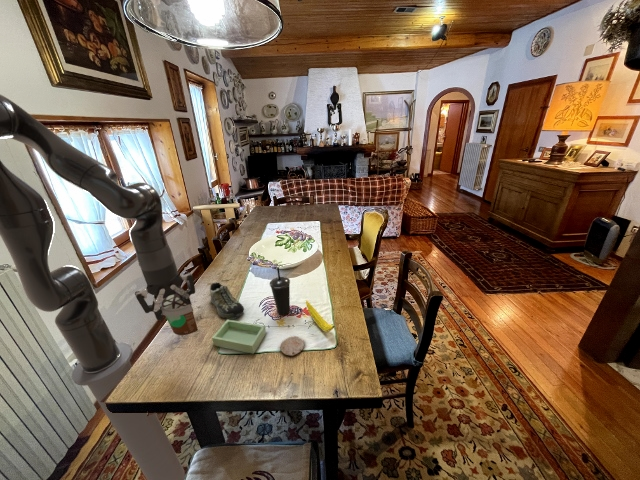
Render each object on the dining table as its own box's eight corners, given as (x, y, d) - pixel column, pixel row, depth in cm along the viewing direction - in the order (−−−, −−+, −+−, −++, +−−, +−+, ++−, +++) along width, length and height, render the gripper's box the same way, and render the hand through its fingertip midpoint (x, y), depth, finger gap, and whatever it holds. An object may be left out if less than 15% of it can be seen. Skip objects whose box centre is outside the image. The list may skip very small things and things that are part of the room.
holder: (214, 345, 86) (211, 337, 84) (229, 326, 94) (227, 319, 92) (253, 353, 82) (252, 345, 81) (266, 333, 90) (265, 325, 89)
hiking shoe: (229, 325, 94) (224, 305, 90) (204, 302, 108) (199, 283, 104) (249, 314, 100) (245, 294, 96) (222, 293, 113) (218, 275, 110)
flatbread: (286, 360, 79) (286, 358, 79) (276, 344, 85) (276, 342, 85) (309, 348, 83) (308, 346, 82) (298, 334, 89) (298, 332, 88)
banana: (310, 308, 101) (309, 295, 98) (338, 339, 86) (337, 324, 84) (303, 311, 100) (302, 298, 97) (331, 342, 85) (330, 328, 82)
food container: (161, 325, 76) (150, 298, 72) (182, 314, 80) (173, 288, 76) (178, 345, 69) (167, 316, 64) (200, 332, 73) (191, 304, 69)
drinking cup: (276, 320, 96) (269, 275, 88) (272, 308, 103) (265, 265, 94) (295, 314, 99) (290, 270, 90) (290, 302, 105) (285, 260, 97)
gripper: (126, 279, 58) (149, 334, 65) (191, 257, 67) (205, 307, 74) (121, 267, 63) (143, 319, 70) (182, 248, 72) (196, 296, 79)
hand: (175, 313), depth 72 cm, fingers closed on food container, 6 cm apart
